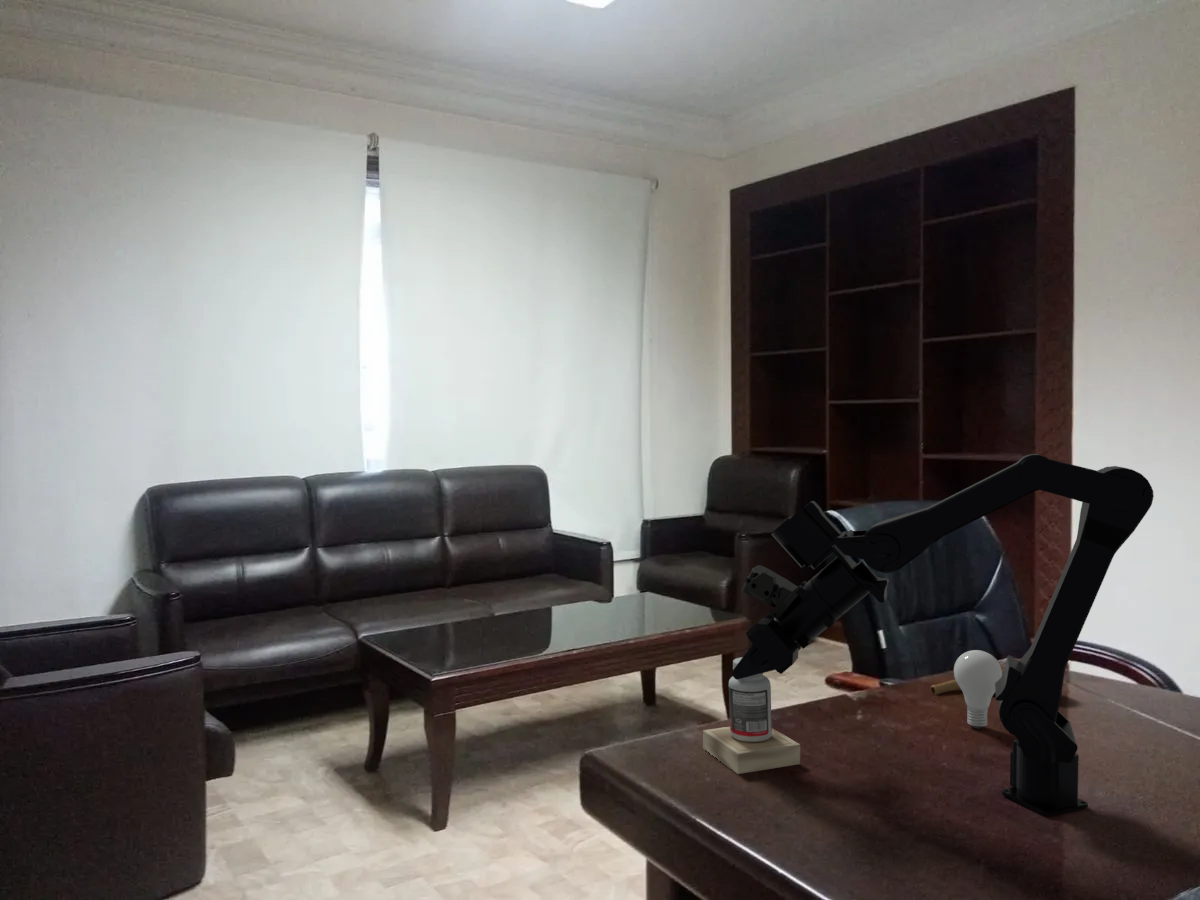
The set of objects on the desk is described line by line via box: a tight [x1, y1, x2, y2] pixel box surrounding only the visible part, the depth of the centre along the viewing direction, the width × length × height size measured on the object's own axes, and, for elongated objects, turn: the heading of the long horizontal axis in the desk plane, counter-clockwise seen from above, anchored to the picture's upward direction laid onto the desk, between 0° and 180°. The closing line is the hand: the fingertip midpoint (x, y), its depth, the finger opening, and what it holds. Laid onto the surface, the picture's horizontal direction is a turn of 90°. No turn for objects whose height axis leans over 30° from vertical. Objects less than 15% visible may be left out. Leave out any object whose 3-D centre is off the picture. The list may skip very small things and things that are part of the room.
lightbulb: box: [953, 649, 1003, 729], centre depth 124 cm, size 6×6×11 cm
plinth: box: [702, 726, 801, 775], centre depth 113 cm, size 9×9×3 cm
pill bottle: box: [728, 656, 773, 742], centre depth 113 cm, size 5×5×10 cm
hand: (738, 672), depth 114 cm, fingers closed on pill bottle, 4 cm apart
